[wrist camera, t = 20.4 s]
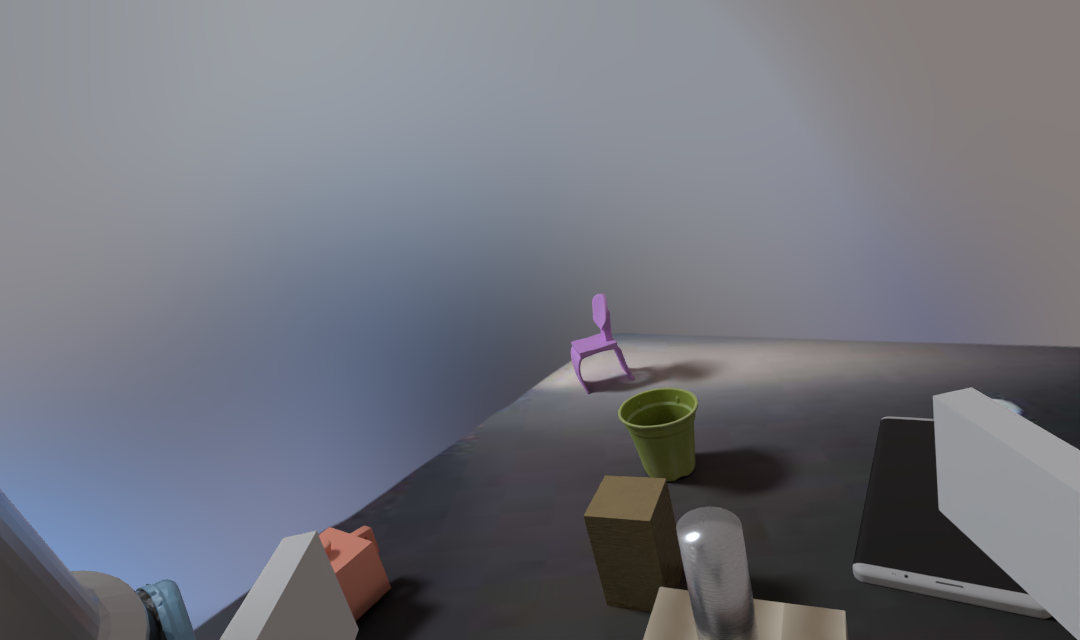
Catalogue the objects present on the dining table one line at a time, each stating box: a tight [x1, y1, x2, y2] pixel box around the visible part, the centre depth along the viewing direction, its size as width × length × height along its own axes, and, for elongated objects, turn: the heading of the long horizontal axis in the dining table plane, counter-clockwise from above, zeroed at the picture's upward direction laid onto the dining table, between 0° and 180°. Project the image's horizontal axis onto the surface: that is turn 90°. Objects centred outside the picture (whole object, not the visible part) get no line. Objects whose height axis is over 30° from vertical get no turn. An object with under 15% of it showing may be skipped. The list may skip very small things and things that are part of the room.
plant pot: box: [618, 388, 698, 481], centre depth 72 cm, size 9×9×9 cm
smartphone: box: [853, 417, 1052, 619], centre depth 57 cm, size 13×27×2 cm, turn 147°
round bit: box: [676, 507, 760, 640], centre depth 40 cm, size 4×4×16 cm
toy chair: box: [571, 294, 635, 394], centre depth 99 cm, size 8×9×15 cm
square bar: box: [584, 476, 684, 612], centre depth 55 cm, size 6×6×10 cm
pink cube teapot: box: [319, 526, 391, 622], centre depth 62 cm, size 8×12×8 cm, turn 145°
